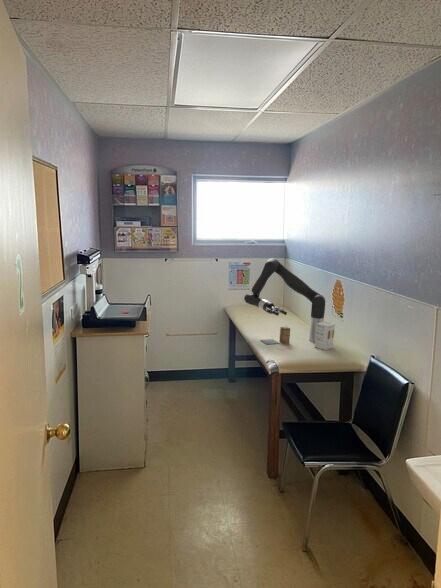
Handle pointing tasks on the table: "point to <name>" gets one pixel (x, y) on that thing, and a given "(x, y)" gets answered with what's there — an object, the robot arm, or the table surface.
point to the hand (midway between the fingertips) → (282, 314)
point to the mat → (269, 341)
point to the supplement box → (324, 335)
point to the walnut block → (284, 335)
